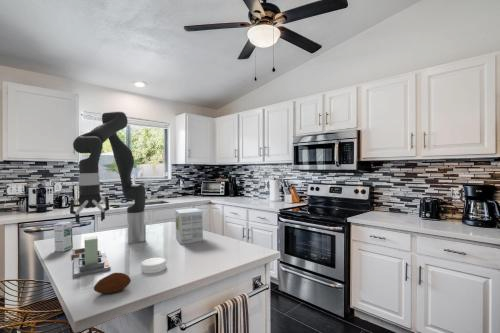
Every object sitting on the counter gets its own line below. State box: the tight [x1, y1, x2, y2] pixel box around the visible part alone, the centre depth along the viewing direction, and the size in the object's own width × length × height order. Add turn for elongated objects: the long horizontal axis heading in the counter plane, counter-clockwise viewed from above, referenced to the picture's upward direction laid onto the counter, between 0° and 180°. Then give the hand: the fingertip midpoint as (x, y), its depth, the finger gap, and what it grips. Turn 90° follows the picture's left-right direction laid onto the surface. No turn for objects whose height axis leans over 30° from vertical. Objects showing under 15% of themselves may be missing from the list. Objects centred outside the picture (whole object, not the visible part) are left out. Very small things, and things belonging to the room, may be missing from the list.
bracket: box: [72, 247, 85, 260], centre depth 134 cm, size 9×10×2 cm
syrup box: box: [53, 221, 74, 252], centre depth 143 cm, size 6×6×14 cm
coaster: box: [140, 257, 167, 274], centre depth 114 cm, size 10×10×4 cm
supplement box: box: [174, 207, 204, 245], centre depth 157 cm, size 13×13×18 cm
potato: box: [93, 272, 132, 295], centre depth 94 cm, size 6×12×6 cm, turn 123°
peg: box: [83, 236, 99, 265], centre depth 114 cm, size 5×5×12 cm
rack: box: [73, 249, 112, 278], centre depth 119 cm, size 13×22×4 cm, turn 33°
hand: (90, 222), depth 114 cm, fingers open, 8 cm apart
